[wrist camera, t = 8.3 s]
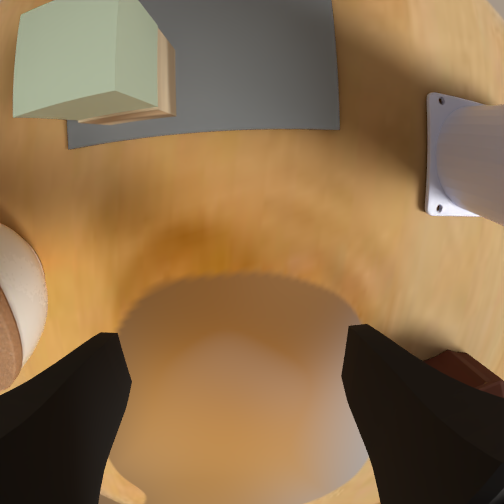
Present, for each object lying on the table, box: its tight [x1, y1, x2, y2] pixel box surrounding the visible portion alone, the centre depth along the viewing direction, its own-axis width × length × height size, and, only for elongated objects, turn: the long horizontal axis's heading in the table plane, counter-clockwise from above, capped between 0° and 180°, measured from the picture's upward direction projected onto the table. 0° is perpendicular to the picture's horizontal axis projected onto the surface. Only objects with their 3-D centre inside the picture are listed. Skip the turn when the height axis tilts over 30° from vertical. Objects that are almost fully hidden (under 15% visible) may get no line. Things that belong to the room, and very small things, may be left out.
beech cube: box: [78, 28, 176, 125], centre depth 14 cm, size 4×4×4 cm
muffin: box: [423, 350, 504, 398], centre depth 19 cm, size 12×11×10 cm
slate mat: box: [67, 0, 340, 150], centre depth 15 cm, size 16×12×1 cm
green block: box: [13, 0, 158, 120], centre depth 9 cm, size 4×4×5 cm
